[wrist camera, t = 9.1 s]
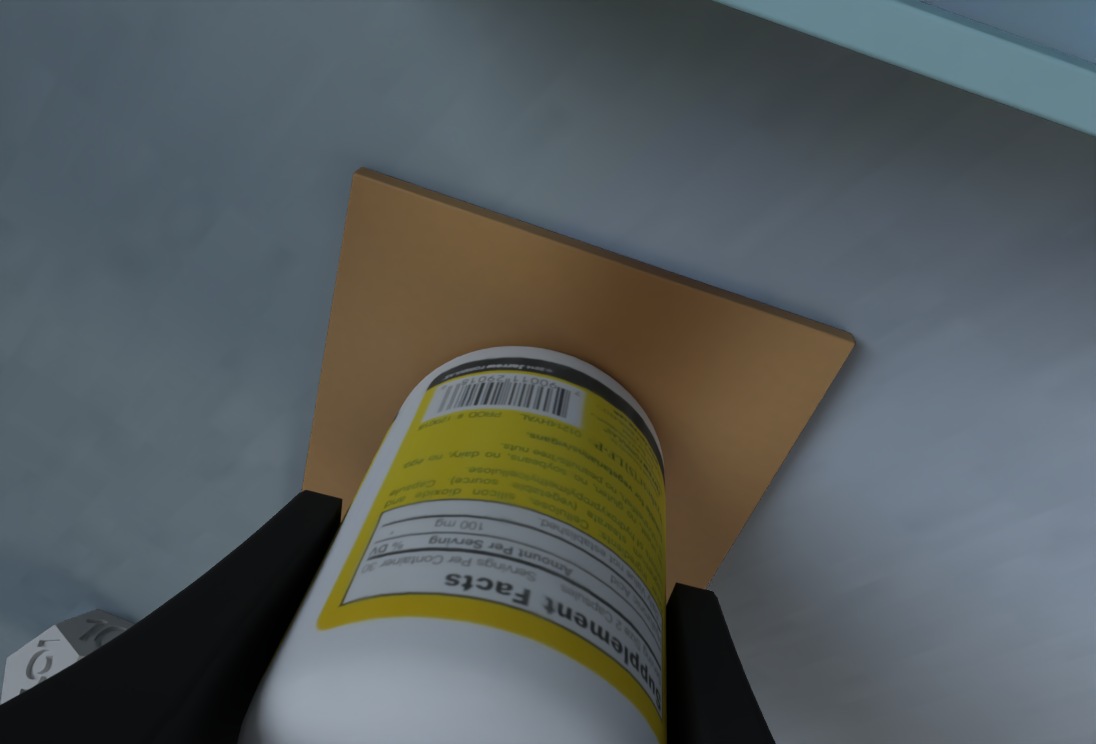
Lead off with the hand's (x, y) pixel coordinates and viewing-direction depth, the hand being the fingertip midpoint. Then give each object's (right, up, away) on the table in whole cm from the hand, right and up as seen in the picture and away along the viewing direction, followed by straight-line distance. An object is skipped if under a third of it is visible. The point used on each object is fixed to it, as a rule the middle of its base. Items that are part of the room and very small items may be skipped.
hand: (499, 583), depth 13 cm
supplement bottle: (0, +2, +3) cm, 4 cm away
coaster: (+1, +2, +3) cm, 4 cm away
